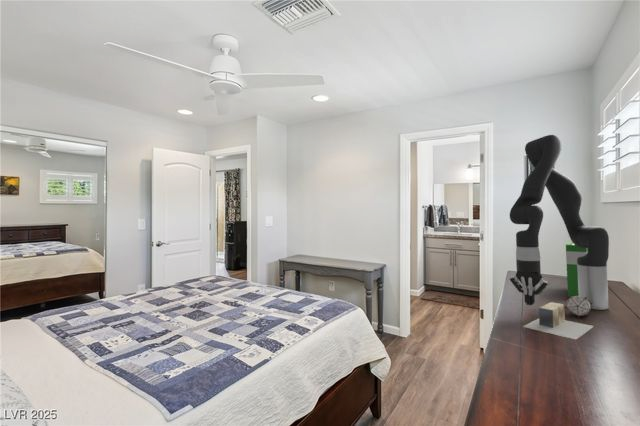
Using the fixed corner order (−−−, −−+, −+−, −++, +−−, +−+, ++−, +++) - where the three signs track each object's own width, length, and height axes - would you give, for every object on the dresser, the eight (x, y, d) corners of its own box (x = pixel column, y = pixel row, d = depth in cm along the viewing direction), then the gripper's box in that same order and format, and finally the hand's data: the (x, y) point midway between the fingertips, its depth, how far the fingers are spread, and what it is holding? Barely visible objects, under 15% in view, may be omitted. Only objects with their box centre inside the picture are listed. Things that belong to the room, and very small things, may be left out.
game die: (585, 327, 117) (604, 310, 111) (561, 318, 118) (578, 301, 113) (578, 309, 124) (594, 292, 118) (555, 301, 126) (570, 284, 120)
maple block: (539, 324, 110) (551, 318, 116) (552, 328, 107) (564, 320, 113) (538, 307, 110) (551, 302, 116) (552, 310, 107) (564, 304, 113)
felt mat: (543, 316, 119) (543, 315, 119) (594, 327, 107) (594, 326, 107) (522, 327, 109) (522, 326, 109) (576, 340, 97) (575, 339, 97)
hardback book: (574, 288, 158) (571, 241, 159) (593, 291, 153) (591, 242, 153) (568, 295, 146) (565, 244, 146) (588, 298, 141) (586, 245, 141)
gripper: (504, 258, 121) (506, 302, 120) (544, 261, 110) (546, 310, 110) (513, 256, 125) (515, 299, 125) (552, 259, 114) (554, 306, 114)
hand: (529, 304), depth 117 cm, fingers closed
